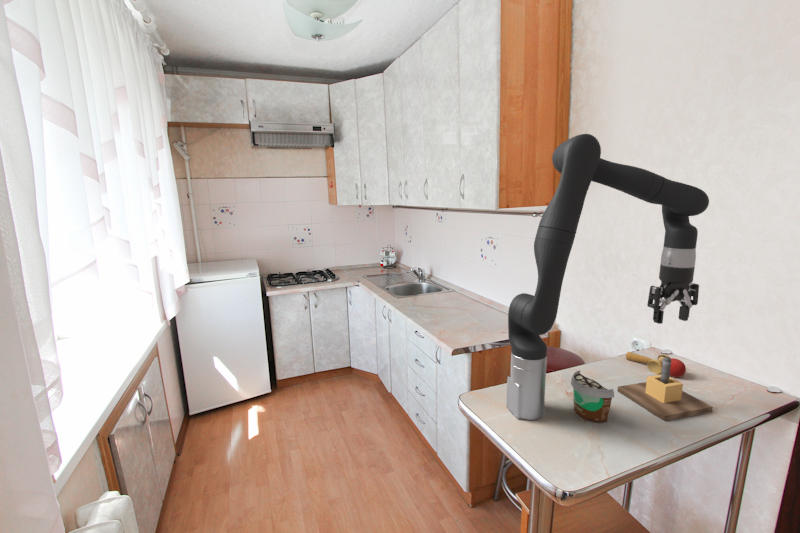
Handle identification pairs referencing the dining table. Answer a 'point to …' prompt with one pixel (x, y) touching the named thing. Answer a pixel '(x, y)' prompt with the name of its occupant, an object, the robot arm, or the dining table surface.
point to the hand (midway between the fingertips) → (670, 321)
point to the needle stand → (665, 410)
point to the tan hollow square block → (664, 389)
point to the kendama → (659, 364)
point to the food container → (591, 399)
